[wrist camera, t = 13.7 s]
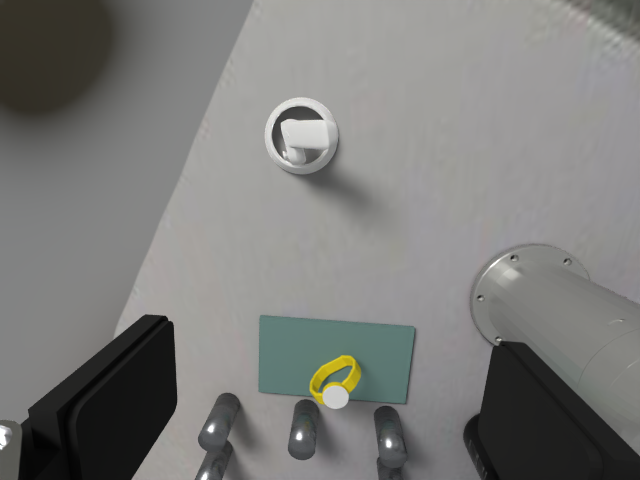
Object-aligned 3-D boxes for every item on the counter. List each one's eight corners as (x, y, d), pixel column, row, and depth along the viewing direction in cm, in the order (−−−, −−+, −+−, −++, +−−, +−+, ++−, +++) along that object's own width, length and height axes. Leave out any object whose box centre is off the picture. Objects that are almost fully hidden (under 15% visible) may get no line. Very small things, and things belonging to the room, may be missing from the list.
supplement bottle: (500, 461, 44) (558, 572, 32) (451, 442, 43) (493, 546, 32) (528, 420, 42) (601, 520, 31) (478, 399, 42) (533, 493, 30)
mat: (413, 326, 40) (414, 328, 39) (404, 400, 42) (405, 403, 42) (260, 315, 41) (259, 317, 40) (259, 388, 43) (258, 391, 42)
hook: (397, 165, 31) (337, 194, 28) (322, 160, 41) (271, 182, 38) (381, 76, 28) (313, 98, 25) (304, 93, 37) (248, 111, 34)
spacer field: (407, 407, 43) (418, 447, 37) (393, 514, 47) (400, 565, 41) (208, 391, 43) (188, 427, 38) (211, 498, 47) (193, 545, 42)
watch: (349, 343, 41) (355, 372, 35) (361, 361, 41) (368, 393, 35) (306, 368, 41) (305, 400, 35) (318, 385, 42) (319, 420, 36)
